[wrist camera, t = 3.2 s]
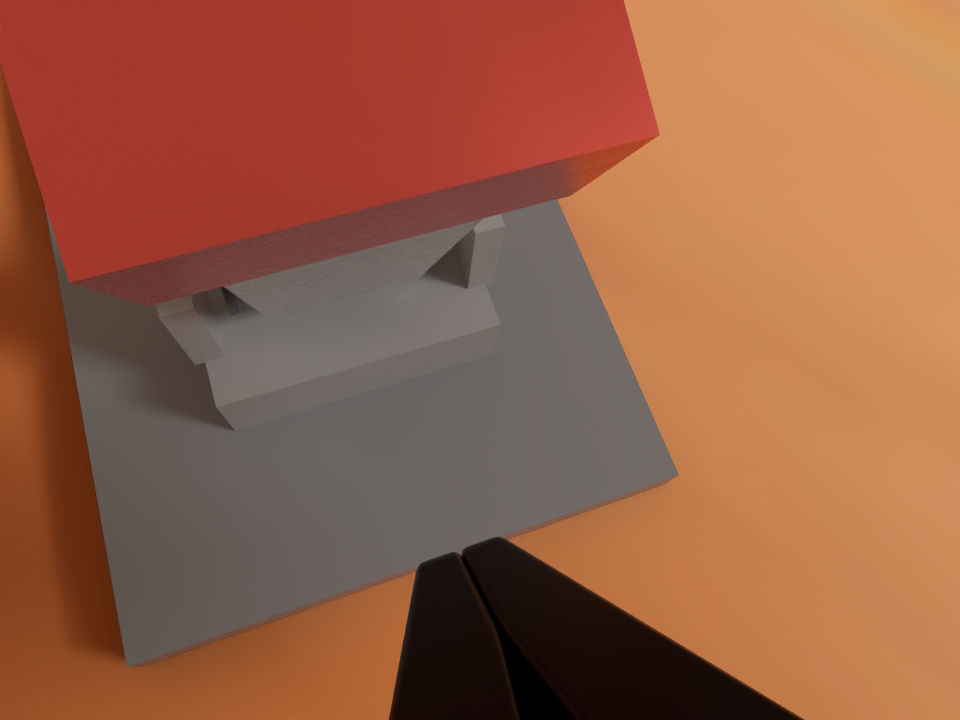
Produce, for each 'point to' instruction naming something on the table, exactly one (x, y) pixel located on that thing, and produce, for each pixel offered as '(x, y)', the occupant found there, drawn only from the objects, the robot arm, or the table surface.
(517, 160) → the lever
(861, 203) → the table surface
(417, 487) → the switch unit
